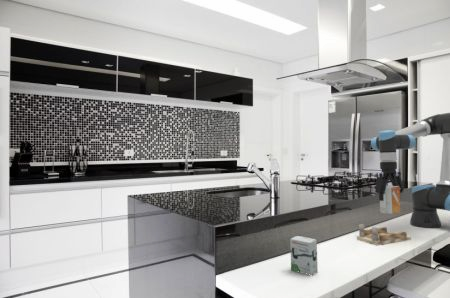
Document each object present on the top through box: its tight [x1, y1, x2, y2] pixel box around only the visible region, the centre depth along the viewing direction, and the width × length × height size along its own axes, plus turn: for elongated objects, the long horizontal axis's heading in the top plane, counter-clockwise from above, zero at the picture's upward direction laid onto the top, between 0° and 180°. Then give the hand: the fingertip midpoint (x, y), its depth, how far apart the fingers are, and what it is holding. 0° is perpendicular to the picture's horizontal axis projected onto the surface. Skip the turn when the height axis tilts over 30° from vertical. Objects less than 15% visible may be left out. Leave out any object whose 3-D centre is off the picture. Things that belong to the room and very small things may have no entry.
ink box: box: [289, 235, 319, 276], centre depth 113 cm, size 9×5×12 cm, turn 45°
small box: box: [379, 185, 402, 215], centre depth 154 cm, size 8×6×13 cm
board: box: [356, 223, 412, 246], centre depth 152 cm, size 22×12×8 cm, turn 111°
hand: (390, 206), depth 154 cm, fingers closed on small box, 9 cm apart
